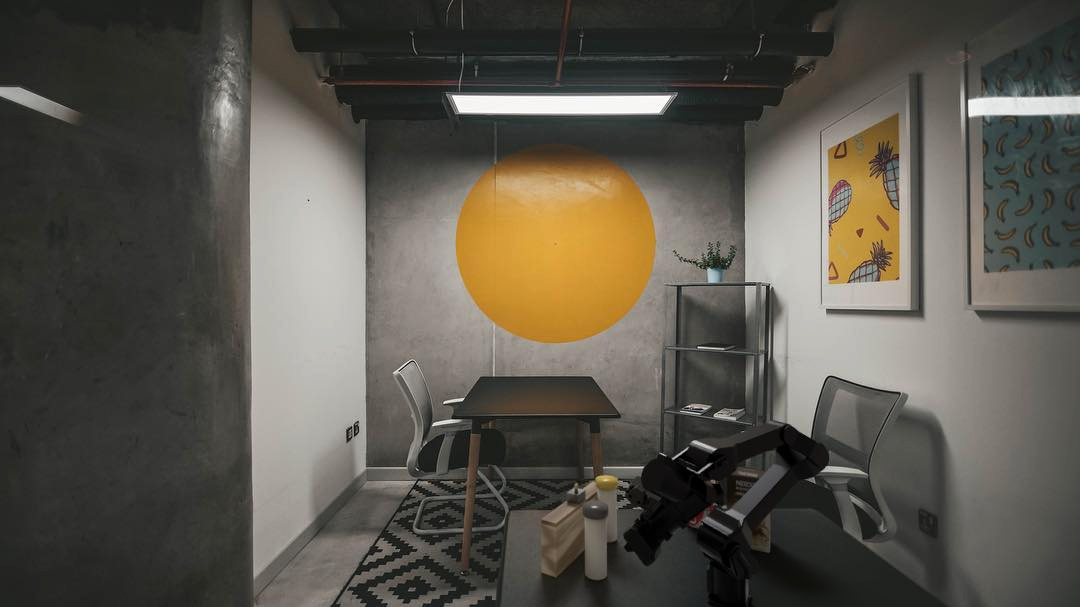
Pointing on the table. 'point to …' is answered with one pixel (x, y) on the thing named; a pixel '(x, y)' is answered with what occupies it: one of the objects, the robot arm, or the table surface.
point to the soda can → (700, 517)
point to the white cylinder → (608, 502)
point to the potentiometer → (576, 495)
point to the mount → (564, 534)
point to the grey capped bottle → (595, 539)
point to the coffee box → (736, 490)
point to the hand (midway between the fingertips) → (625, 548)
